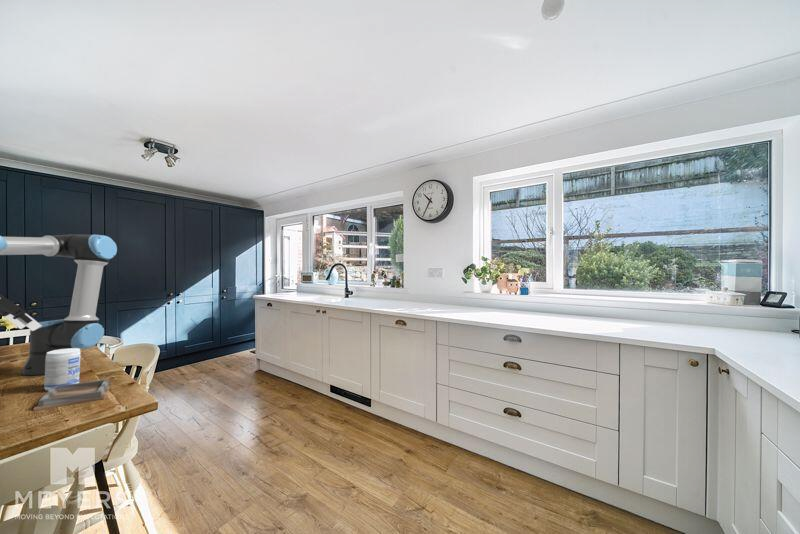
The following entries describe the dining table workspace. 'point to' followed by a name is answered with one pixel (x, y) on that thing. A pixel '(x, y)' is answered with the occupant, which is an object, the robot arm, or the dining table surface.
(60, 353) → the supplement tub
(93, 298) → the robot arm
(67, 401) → the dock
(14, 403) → the dining table surface
